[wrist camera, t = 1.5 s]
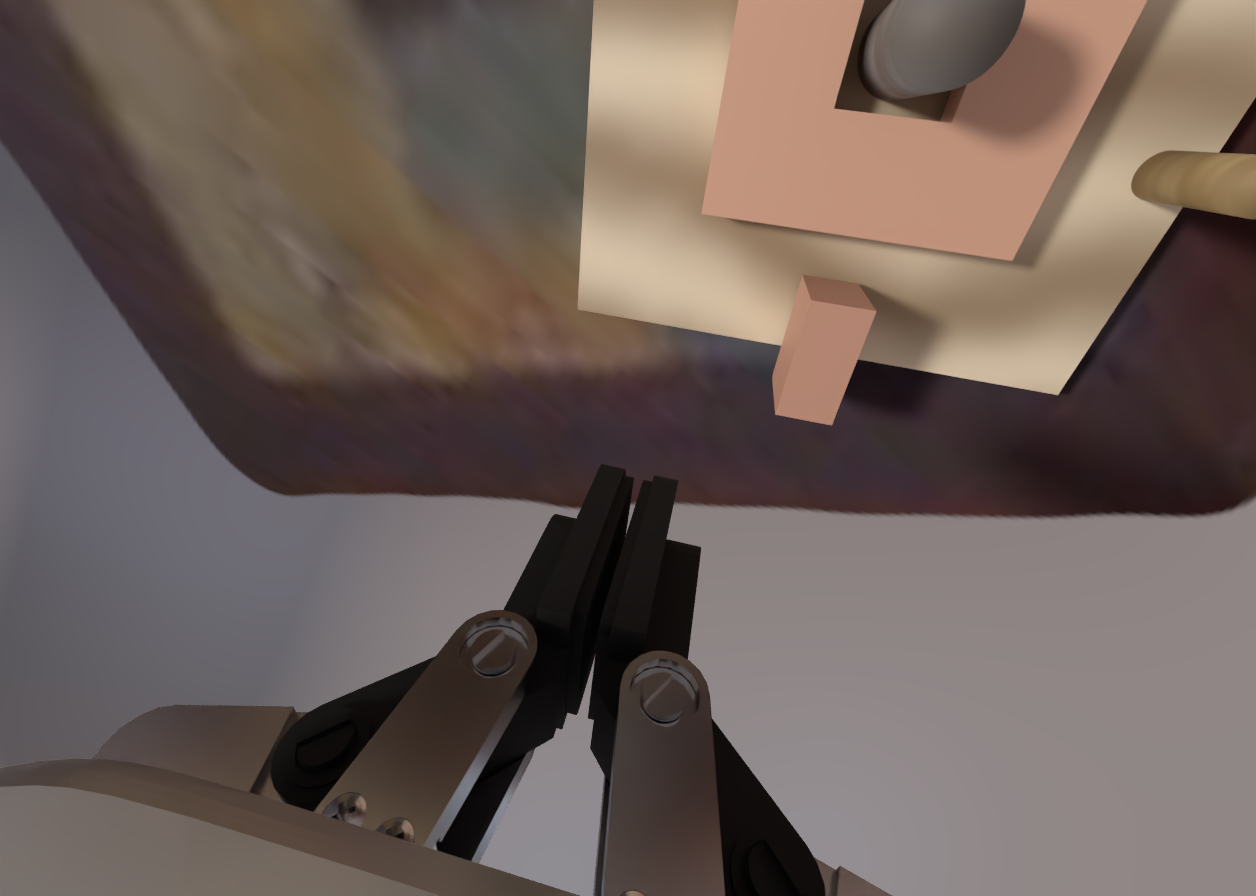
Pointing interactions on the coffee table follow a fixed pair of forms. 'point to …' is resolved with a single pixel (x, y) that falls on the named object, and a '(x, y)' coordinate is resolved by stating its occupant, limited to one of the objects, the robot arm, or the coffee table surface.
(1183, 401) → the coffee table surface
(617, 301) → the post board
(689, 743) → the robot arm
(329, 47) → the coffee table surface
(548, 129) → the coffee table surface
